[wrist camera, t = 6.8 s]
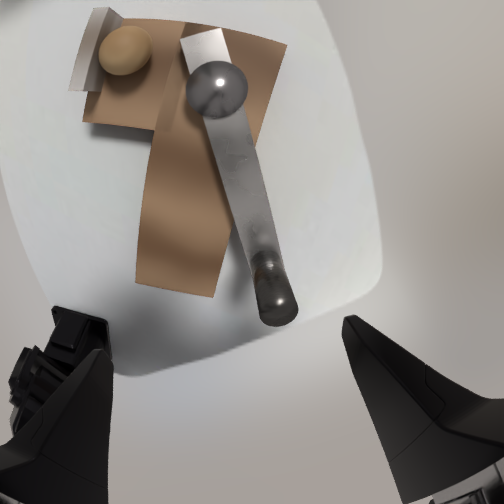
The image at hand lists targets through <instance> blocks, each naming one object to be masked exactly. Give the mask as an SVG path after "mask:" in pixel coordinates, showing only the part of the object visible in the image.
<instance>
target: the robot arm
mask: <svg viewBox="0 0 504 504" xmlns="http://www.w3.org/2000/svg"><path fill="white" fill-rule="evenodd" d="M51 311H52V315H53V319H54V323H55V326H56V327H55V329H54V331H53V333H52V335H51V337H50V340H49V342H48V344H47V346H46V348H45V350H44V352H42V351H41V350H40V349H39V348H38V347H37V346H36V345H35V346H34V347H33V349H30V348H26V347H24V349H23V351H22V353H21V354H20V357H19V358H18V360H17V362H16V365H15V367H14V370H13V372H12V374H11V376H10V379H9V381H8V383H9V386H10V389H11V391H10V394H11V396H10V400H9V402H10V403H11V404H13V405H14V408H13V411H12V414H11V417H10V425H11V430H12V435H13V438H12V439H11V440H10V441H8V442H7V443H6V444H4V445H1V446H0V504H108V452H109V435H110V422H111V412H112V401H113V371H114V366H113V363H112V361H111V359H112V354H111V347H110V340H109V331H108V323H107V321H105V320H104V319H100V318H96V317H93V316H89V315H85V314H82V313H78V312H74V311H71V310H68V309H64V308H61V307H58V306H53V308H52V309H51ZM342 339H343V342H344V346H345V348H346V352H347V356H348V359H349V362H350V366H351V369H352V372H353V375H354V377H355V380H356V382H357V385H358V387H359V389H360V391H361V394H362V397H363V399H364V401H365V404H366V406H367V409H368V411H369V414H370V416H371V419H372V421H373V424H374V426H375V429H376V431H377V434H378V436H379V439H380V441H381V444H382V447H383V450H384V452H385V455H386V457H387V460H388V462H389V466H390V469H391V472H392V474H393V477H394V480H395V483H396V486H397V489H398V492H399V495H400V498H401V501H402V503H403V504H408V503H411V502H414V501H417V500H420V499H423V498H425V497H428V496H430V495H432V497H433V499H432V500H431V501H430V502H429V504H504V399H489V398H485V397H481V396H479V395H477V394H475V393H473V392H472V391H470V390H468V389H466V388H464V387H462V386H460V385H459V384H457V383H455V382H453V381H452V380H450V379H448V378H446V377H445V376H443V375H442V374H440V373H438V372H437V371H436V370H434V369H433V368H431V367H430V366H428V365H427V364H426V365H425V363H424V362H423V361H421V360H420V359H418V358H417V357H415V356H414V355H412V354H411V353H410V352H408V351H407V350H405V349H404V348H403V347H401V346H399V345H398V344H397V343H395V342H394V341H393V340H391V339H390V338H388V337H387V336H385V335H384V334H382V333H381V332H380V331H378V330H377V329H375V328H374V327H373V326H371V325H369V324H368V323H367V322H365V321H364V320H362V319H361V318H359V317H358V316H356V315H350V316H346V317H344V321H343V326H342Z"/></svg>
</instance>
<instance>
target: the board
mask: <svg viewBox="0 0 504 504" xmlns="http://www.w3.org/2000/svg"><path fill="white" fill-rule="evenodd" d="M218 28H221V27H215V26H209V25H203V24H197V23H189V22H181V21H171V20H158V19H124V18H122V17H121V16H120V15H119V14H117V13H116V12H115V11H114V10H112V9H111V8H110V7H102V8H93V11H92V13H91V16H90V18H89V21H88V24H87V26H86V29H85V32H84V35H83V38H82V41H81V44H80V47H79V51H78V54H77V57H76V61H75V65H74V69H73V73H72V77H71V81H70V85H69V90H68V91H88V94H87V99H86V104H85V109H84V115H83V121H82V122H90V123H101V124H111V125H120V126H128V127H136V128H143V129H150V130H154V135H153V140H152V145H151V150H150V156H149V161H148V167H147V173H146V179H145V186H144V193H143V200H142V208H141V216H140V226H139V236H138V248H137V262H136V281H135V283H138V284H143V285H148V286H152V287H157V288H162V289H168V290H173V291H178V292H183V293H189V294H194V295H200V296H205V297H211V298H213V297H214V293H215V289H216V285H217V281H218V278H219V274H220V270H221V266H222V262H223V259H224V255H225V251H226V247H227V244H228V240H229V236H230V233H231V229H232V225H233V222H234V217H233V214H232V211H231V208H230V204H229V201H228V198H227V195H226V191H225V188H224V185H223V182H222V178H221V175H220V172H219V169H218V165H217V162H216V159H215V155H214V152H213V149H212V146H211V142H210V139H209V136H208V132H207V129H206V126H205V122H204V119H203V116H202V115H201V114H199V113H198V112H196V111H195V110H194V109H193V108H192V107H191V106H190V104H189V102H188V100H187V97H186V83H187V81H188V78H189V76H190V72H189V69H188V66H187V62H186V59H185V55H184V52H183V49H182V45H181V42H180V39H182V38H185V37H189V36H192V35H195V34H199V33H202V32H206V31H210V30H214V29H218ZM221 30H222V33H223V36H224V40H225V43H226V46H227V50H228V53H229V56H230V60H231V63H232V64H234V65H235V66H237V67H238V68H239V69H240V70H241V71H242V72H243V73H244V75H245V77H246V79H247V82H248V94H247V97H246V100H245V102H244V103H243V105H244V109H245V112H246V116H247V120H248V123H249V127H250V131H251V134H252V138H253V142H254V146H256V142H257V139H258V136H259V132H260V129H261V126H262V123H263V119H264V116H265V113H266V110H267V106H268V103H269V100H270V97H271V94H272V91H273V87H274V84H275V81H276V78H277V75H278V72H279V69H280V66H281V63H282V60H283V57H284V54H285V51H286V48H287V45H286V44H283V43H280V42H276V41H273V40H270V39H266V38H263V37H259V36H256V35H252V34H248V33H244V32H239V31H235V30H230V29H226V28H221Z"/></svg>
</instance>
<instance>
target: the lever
mask: <svg viewBox="0 0 504 504" xmlns="http://www.w3.org/2000/svg"><path fill="white" fill-rule="evenodd" d="M180 42H181V45H182V49H183V52H184V55H185V59H186V62H187V66H188V69H189V72H190V76H189V78H188V81H187V83H186V97H187V100H188V102H189V104H190V106H191V107H192V108H193V109H194V110H195V111H196V112H198V113H199V114H201V115H202V116H203V119H204V122H205V126H206V129H207V132H208V136H209V139H210V142H211V146H212V149H213V152H214V155H215V159H216V162H217V165H218V169H219V172H220V175H221V178H222V182H223V185H224V188H225V191H226V195H227V198H228V201H229V204H230V208H231V211H232V214H233V217H234V220H235V224H236V227H237V230H238V233H239V237H240V240H241V243H242V246H243V249H244V253H245V256H246V259H247V262H248V265H249V269H250V272H251V275H252V278H253V283H254V288H255V294H256V299H257V305H258V310H259V315H260V319H261V321H262V322H263V323H264V324H266V325H268V326H273V327H278V326H283V325H286V324H288V323H290V322H291V321H293V320H294V319H295V317H296V316H297V314H298V305H297V303H296V300H295V297H294V294H293V291H292V289H291V286H290V283H289V280H288V277H287V275H286V272H285V269H284V264H283V260H282V255H281V251H280V247H279V242H278V238H277V234H276V230H275V225H274V221H273V217H272V213H271V209H270V205H269V201H268V197H267V193H266V189H265V185H264V181H263V177H262V173H261V169H260V165H259V161H258V157H257V153H256V150H255V146H254V142H253V138H252V134H251V131H250V127H249V123H248V120H247V116H246V112H245V109H244V105H243V103H244V102H245V100H246V97H247V94H248V82H247V79H246V77H245V75H244V73H243V72H242V71H241V70H240V69H239V68H238V67H237V66H235V65H234V64H232V63H231V60H230V56H229V53H228V50H227V46H226V43H225V40H224V36H223V33H222V30H221V28H218V29H214V30H210V31H206V32H202V33H199V34H195V35H192V36H189V37H185V38H182V39H180Z"/></svg>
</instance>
